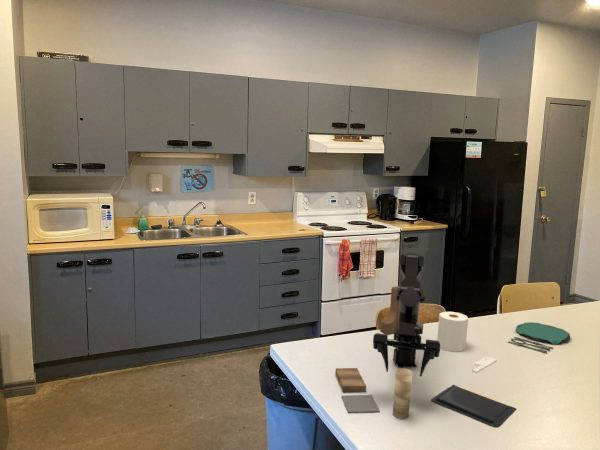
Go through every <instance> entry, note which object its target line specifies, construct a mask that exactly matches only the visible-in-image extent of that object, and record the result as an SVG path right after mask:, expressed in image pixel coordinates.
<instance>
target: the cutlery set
mask: <svg viewBox="0 0 600 450" xmlns="http://www.w3.org/2000/svg"><path fill="white" fill-rule="evenodd" d="M515 332H516V333H517V334H519V335H520V336H521V335H523V336H525V337H526V338H529V339H532V340H536V341H532V340H528V339H525V338H521V337H517V336H514V338H510V340H511V341H507V343H508V344H511V345H514V346H516V347H521V348H522V347H524V348H527V349H529V350H533V351H535V352H540V353H543V354H548V351H549V352H550V351H551V350H554V347H552V346H548V345H546V344H542V343H540V342H537V341H541V342H549V343H551V344H552V345H553V346H555V345H556V346H557V345H559V344H560V343H561V342H566V341H569V340H570V338H571V333H569V331H567V330H565V329H563V328H559V327H556V326H552V325H548V324H543V323H540V322H528V321H527V322H523V323H521V324H518V325H517V326H516V327H515ZM530 346H533V347H530ZM535 347H537V348H535ZM538 348H539V349H538Z"/></svg>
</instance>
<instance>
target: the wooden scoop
mask: <svg viewBox="0 0 600 450" xmlns="http://www.w3.org/2000/svg"><path fill="white" fill-rule="evenodd" d="M398 288H400V285H398V286H392V287H391V294H390V307H389V313H388V315H387V317H385V318H384V319H381V320H380V327H379V331H380V332H382V334H387V335H392V334H394V330H396V329H397V323H398V317H399V300H397V291H398Z"/></svg>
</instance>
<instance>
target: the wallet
mask: <svg viewBox="0 0 600 450" xmlns="http://www.w3.org/2000/svg"><path fill="white" fill-rule="evenodd" d="M430 402H431V403H433V404H436V405H438V406H440V407H443V408H446V409H448V410H450V411H453V412H456V413H458V414H459V415H460V414H461V415H463V416H465V417H467V418H470V419H472V420H475V421H477V422H479V423H482V424H484V425H487V426H489V427H491V428H494V429H495V428H500V427H501V426H502V425H504V423H505V422H506V421H507V419H509V418H510V417H511V416H512V415H513V414H514V413H515V412H516V411H517V410H518V408H516V407H514V406H512V405H509V404H506V403H504V402H501V401H498V400H496V399H493V398H490V397H487V396H485V395H483V394H480V393H476V392H475V391H472V390H469V389H466V388H464V387H461V386H458V385H455V384H453V385H450V386H449V387H447V388H446V389H444V390H443V391H441V392H440V393H438V394H437V395H436V396H434V397H432V398H430Z"/></svg>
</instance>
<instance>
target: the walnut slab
mask: <svg viewBox="0 0 600 450" xmlns="http://www.w3.org/2000/svg"><path fill="white" fill-rule="evenodd" d="M334 374H335V376H336V380H337V382H338V384H339V387H340V389H341V391H342V393H346V394H347V393H366V392H367V385H366V383H365V380H364V379H363V377H362V375H361V373H360V371H359V369H358V368H357V367H349V368H347V367H346V368H345V367H344V368H343V367H342V368H341V367H340V368H338V367H337V368H336V367H335V373H334Z"/></svg>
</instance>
